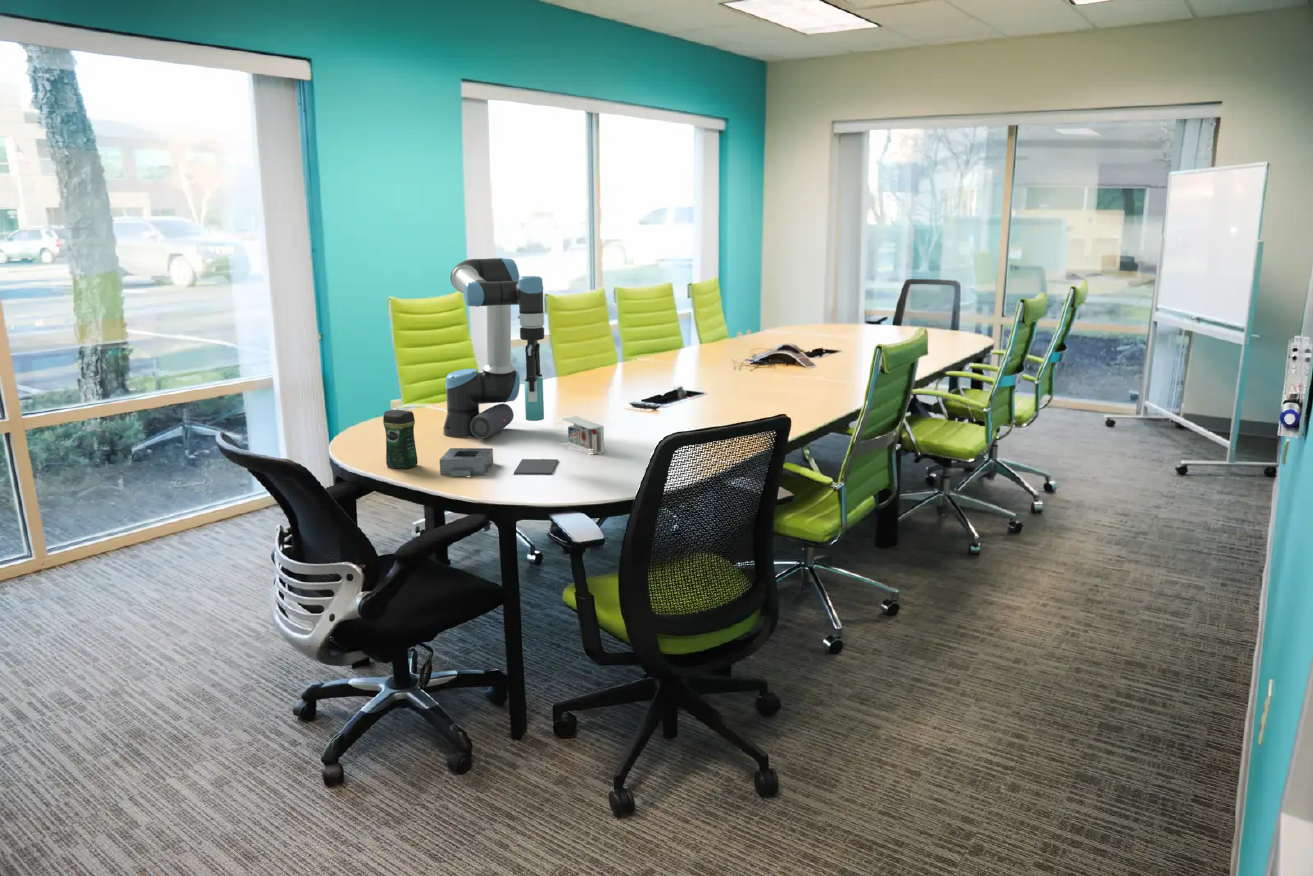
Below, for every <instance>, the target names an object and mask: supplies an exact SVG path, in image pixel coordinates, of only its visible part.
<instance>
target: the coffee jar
mask: <svg viewBox="0 0 1313 876" xmlns="http://www.w3.org/2000/svg"><path fill="white" fill-rule="evenodd" d="M382 420H383V421H382V423H383V427H384V430H385V445H386V446H385V448H386V450H385V451H386V452H385V457H386V459H385V461H386V463H385V464H386V466H387V467H388V468H392V467H394V469H408V468H411V467H412V468H414V467H415V466H416V465H418V462H419V461H418V453H417V447H416V441H415V434H414V433H415V432H414V427H415V424H416V423H415V422H416V421H415V414H414V412H413V411H412V410H403V409H402V410H401V409H390V410H386V411H384V413H383V418H382ZM412 468H411V469H412Z"/></svg>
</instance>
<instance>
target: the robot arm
mask: <svg viewBox="0 0 1313 876" xmlns="http://www.w3.org/2000/svg"><path fill="white" fill-rule="evenodd" d="M449 278H450V283H451V285H452V286H453V288H454V289H455V290H456V291H458V292H459V293H461V294H463V297H464V301H465V304H466V306H468V307H477V308H479V307H486V343H487V344H486V354H487V356H486V359H487V360H486V361H487V363H486V364H485V365H484V366H483V369H482V372H478V370H477V369H476V368H464V369H460V370H455V371H451V372H450V373H448V374H447V375H446V377H445V393H446V396H445V397H446V416H445V421H444V423H443V435H445V436H446V437H451V438H453V437H454V438H468V437H475V436H474V435H473V434H472V432H471V430H470V423H471V421H472V419H473V418H474V417H476V416H477V415H478V414H480V413H481V412H480V405H483V404H496V403H497V404H506V403H510V402H514V401H516V399H517V398H518V396H519V394H520V388H521V387H520V386H521V382H520V381H521V380H520V379H521V378H520V373H519V371H518V370H516V367H515V366H514V365H513V364H512V361H511V358H512V357H511V356H512V348H511V347H512V345H511V344H512V341H511V340H512V339H511V338H512V337H511V335H512V323H511V322H512V318H511V317H512V314H511V313H512V312H511V311H512V306H517V305H518V309H519V310H518V313H519V315H518V316H517V319H519V325H520V328H519V338H520V339H521V340H523V341H526V343H527V344H526V345H525V346H524V348H525V349H524V351H525V372H526V374H525V375H526V377H525V378H526V379H525V378H524V379H525V381H528V402H537V381H536V376H538V377H540V378H543V377H542V376H543V374H542V373H541V359H540V358H541V355H540V350H541V349H540V348H541V347H540V343H539V341H541V340H544V339H545V327H544V325H545V314H544V285H543V278H542V277H541V276H536V275H523V276H520V273H519V268H518V266H517V263H516V262H515V260H514V259H512V258H503V257H495V258H494V257H493V258H472V259H471V258H470V259H467V260H463V261H461V262H459V263H457V264H456V265H455V266H454V267H453V268H452V269H451V273H450V277H449ZM530 376H532V377H530Z"/></svg>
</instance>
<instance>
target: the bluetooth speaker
mask: <svg viewBox="0 0 1313 876" xmlns="http://www.w3.org/2000/svg"><path fill="white" fill-rule="evenodd" d="M513 420H514V410H513V408H512V407H511V406H510V405H508V404H507V403H497V404H495V405H493V406H491V407H489V408H487V409H484V411H481V412H480V414H478V415H477V416H476V417H474V418H473V419H472V421H471V423H470V430H471V432H472V434H473V435H474V436H473V437H476V438H478V439H491V438H494V437H496V436H497V435H499V434H500V433H501V431H502V430H503V429H504V428H506V427H507V426H509V425H510V424H511V422H512V421H513ZM495 435H496V436H495Z"/></svg>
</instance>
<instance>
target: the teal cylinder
mask: <svg viewBox="0 0 1313 876" xmlns="http://www.w3.org/2000/svg"><path fill="white" fill-rule="evenodd" d="M530 377H532V376H530ZM525 379H526V377H525V378H524V380H523V381H524V383H523V384H524V406H525V409H524V410H525V412H524V413H525V421H529V422H538V421H543V420H545V409H544V408H545V407H544V406H545V405H544V403H545V402H544V379H543V377H538V376H536V381H537V402H528V381H525Z"/></svg>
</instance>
